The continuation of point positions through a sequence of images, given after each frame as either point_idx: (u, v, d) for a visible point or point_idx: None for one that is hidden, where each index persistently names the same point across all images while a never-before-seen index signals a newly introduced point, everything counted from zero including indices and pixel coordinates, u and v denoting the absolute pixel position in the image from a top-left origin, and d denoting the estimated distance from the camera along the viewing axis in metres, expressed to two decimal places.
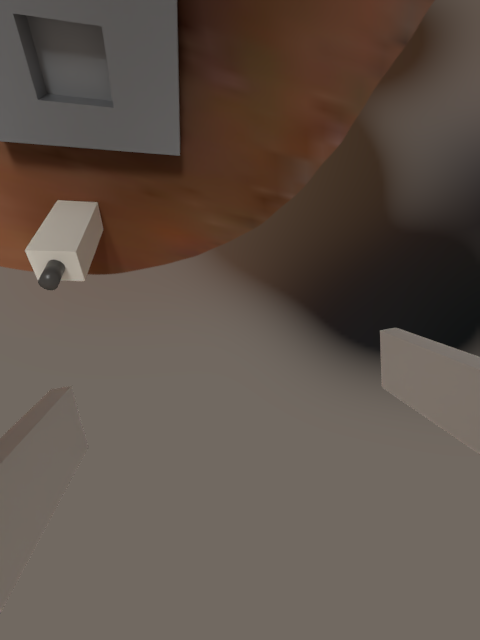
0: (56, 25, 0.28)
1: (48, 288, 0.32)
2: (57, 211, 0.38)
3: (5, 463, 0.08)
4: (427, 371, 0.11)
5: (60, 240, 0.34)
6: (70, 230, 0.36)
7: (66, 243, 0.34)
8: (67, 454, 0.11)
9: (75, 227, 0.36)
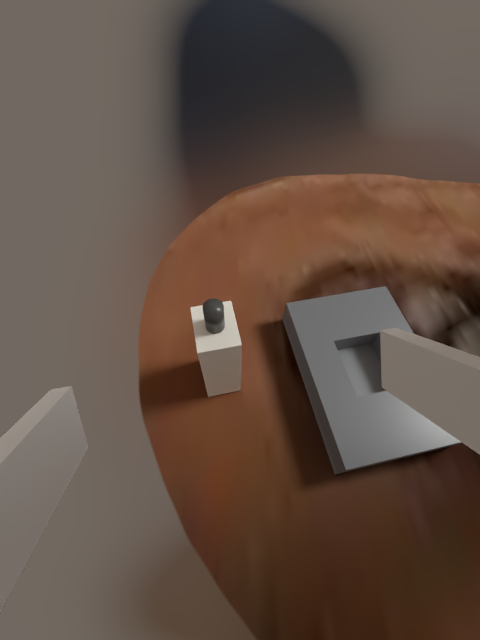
0: (374, 361, 0.39)
1: (204, 307, 0.26)
2: None
3: (5, 463, 0.08)
4: (427, 371, 0.11)
5: None
6: None
7: None
8: (67, 454, 0.11)
9: None
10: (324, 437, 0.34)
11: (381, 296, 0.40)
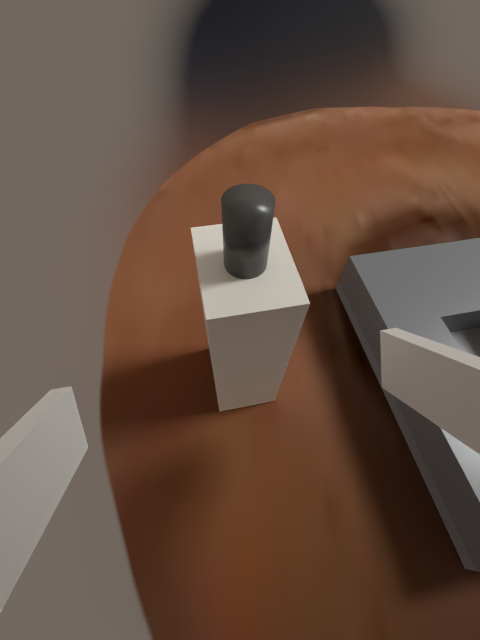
0: None
1: (227, 199, 0.10)
2: None
3: (5, 463, 0.08)
4: (427, 371, 0.11)
5: None
6: None
7: None
8: (67, 454, 0.11)
9: None
10: (439, 492, 0.18)
11: None
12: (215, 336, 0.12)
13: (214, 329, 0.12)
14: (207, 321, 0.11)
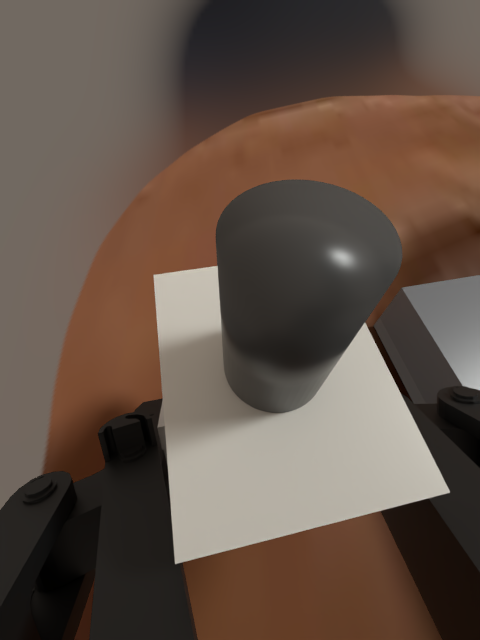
0: None
1: (235, 232, 0.03)
2: None
3: None
4: None
5: None
6: None
7: None
8: None
9: None
10: None
11: None
12: None
13: None
14: (179, 561, 0.04)
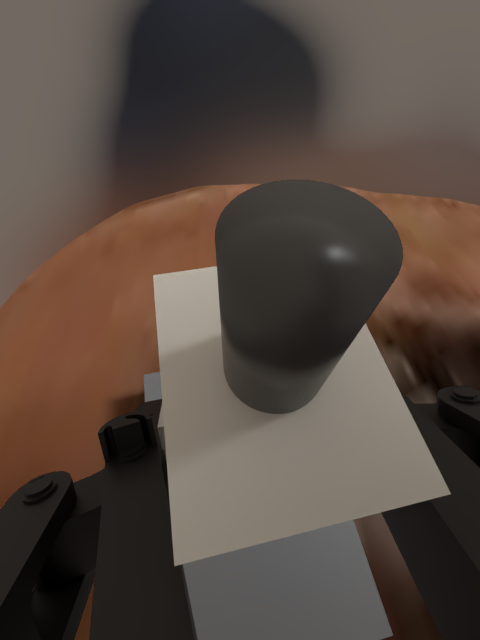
0: None
1: (234, 232, 0.03)
2: None
3: None
4: None
5: None
6: None
7: None
8: None
9: None
10: None
11: None
12: None
13: None
14: (178, 563, 0.04)
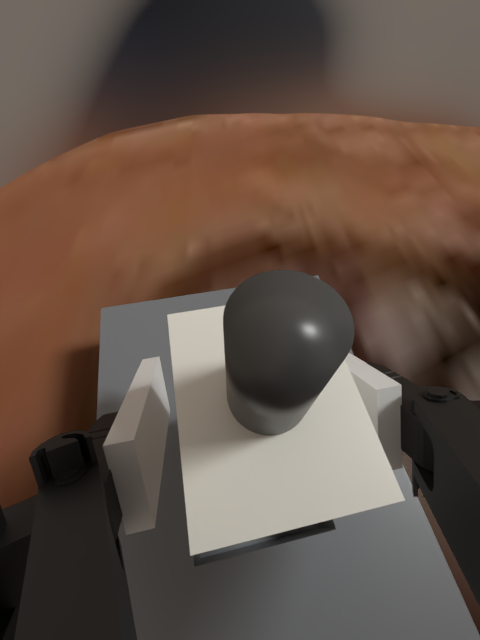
0: None
1: (237, 317, 0.04)
2: None
3: (146, 403, 0.10)
4: None
5: None
6: None
7: None
8: (164, 410, 0.13)
9: None
10: None
11: None
12: None
13: None
14: (193, 553, 0.05)
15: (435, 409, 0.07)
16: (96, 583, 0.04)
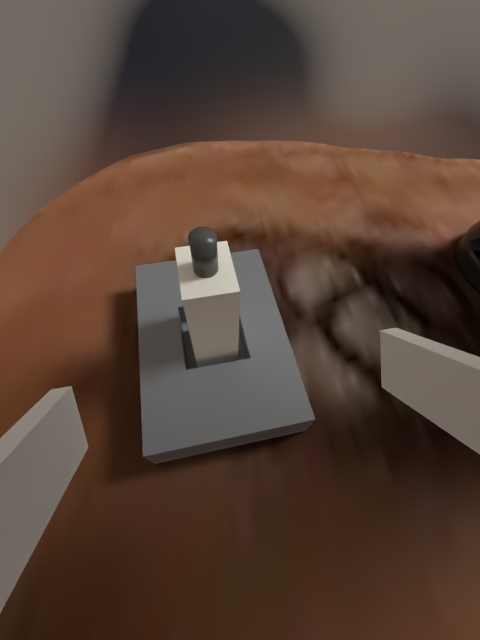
0: None
1: (191, 236, 0.20)
2: None
3: (5, 463, 0.08)
4: (427, 371, 0.11)
5: None
6: None
7: None
8: (67, 454, 0.11)
9: None
10: None
11: (250, 259, 0.35)
12: (188, 310, 0.22)
13: (187, 306, 0.21)
14: (182, 301, 0.21)
15: None
16: None
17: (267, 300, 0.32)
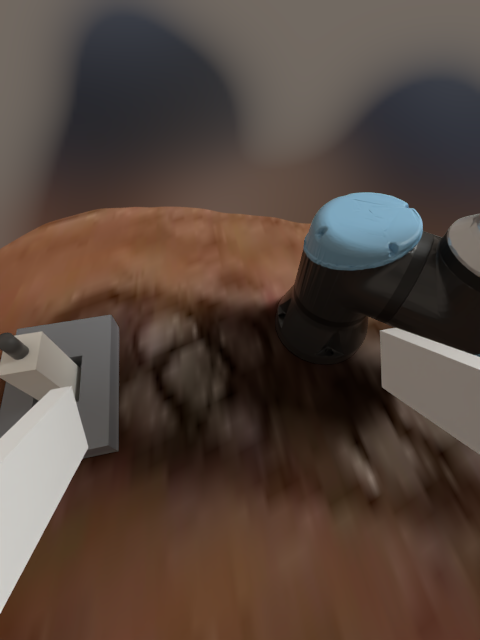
0: None
1: None
2: (73, 367, 0.44)
3: (5, 463, 0.08)
4: (427, 371, 0.11)
5: (48, 360, 0.37)
6: (56, 372, 0.38)
7: (44, 364, 0.36)
8: (67, 454, 0.11)
9: (59, 377, 0.39)
10: None
11: (102, 323, 0.48)
12: (7, 380, 0.35)
13: (4, 378, 0.34)
14: None
15: None
16: None
17: (104, 357, 0.45)
